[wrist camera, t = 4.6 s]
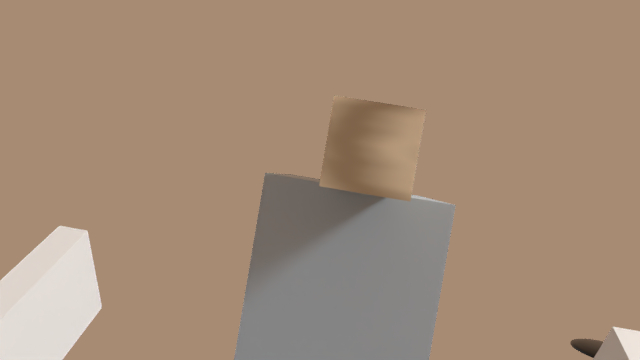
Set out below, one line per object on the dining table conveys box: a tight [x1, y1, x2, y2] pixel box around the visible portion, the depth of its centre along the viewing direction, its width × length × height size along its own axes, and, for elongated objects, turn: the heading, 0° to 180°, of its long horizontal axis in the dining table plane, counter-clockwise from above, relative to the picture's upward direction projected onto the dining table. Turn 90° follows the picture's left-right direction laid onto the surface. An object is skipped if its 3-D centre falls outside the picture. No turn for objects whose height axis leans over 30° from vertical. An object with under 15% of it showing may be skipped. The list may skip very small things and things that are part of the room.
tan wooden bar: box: [319, 96, 426, 201], centre depth 32 cm, size 4×23×4 cm, turn 177°
